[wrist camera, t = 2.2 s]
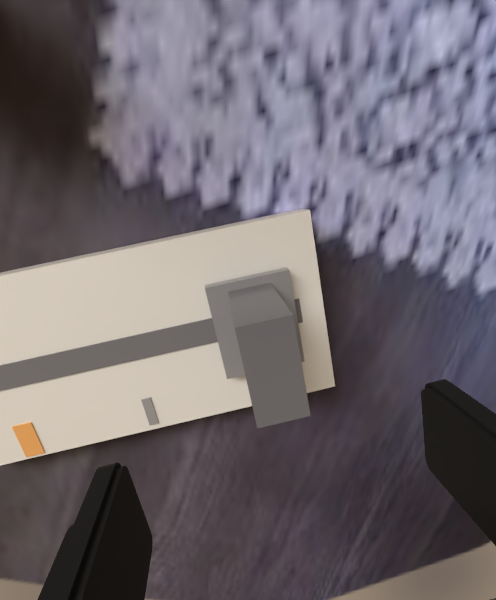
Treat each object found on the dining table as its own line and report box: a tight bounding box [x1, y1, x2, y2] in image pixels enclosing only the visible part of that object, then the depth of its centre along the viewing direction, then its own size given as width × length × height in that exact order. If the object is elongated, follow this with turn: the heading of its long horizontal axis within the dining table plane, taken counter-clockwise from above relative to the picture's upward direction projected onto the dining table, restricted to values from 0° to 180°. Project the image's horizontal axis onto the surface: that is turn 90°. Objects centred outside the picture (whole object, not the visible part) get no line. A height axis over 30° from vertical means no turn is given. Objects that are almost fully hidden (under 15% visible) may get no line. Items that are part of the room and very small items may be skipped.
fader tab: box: [205, 267, 311, 428], centre depth 18 cm, size 5×6×7 cm
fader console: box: [0, 209, 335, 465], centre depth 23 cm, size 25×12×3 cm, turn 101°
